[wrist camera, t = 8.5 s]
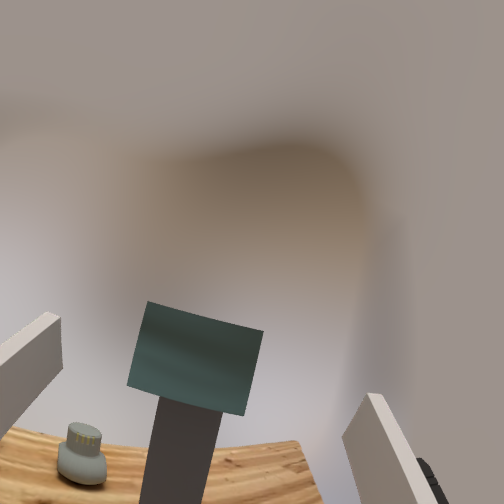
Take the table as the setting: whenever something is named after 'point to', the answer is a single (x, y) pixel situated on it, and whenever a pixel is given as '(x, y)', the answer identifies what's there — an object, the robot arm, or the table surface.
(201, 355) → the block
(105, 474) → the air freshener
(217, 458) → the table surface
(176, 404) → the stand
